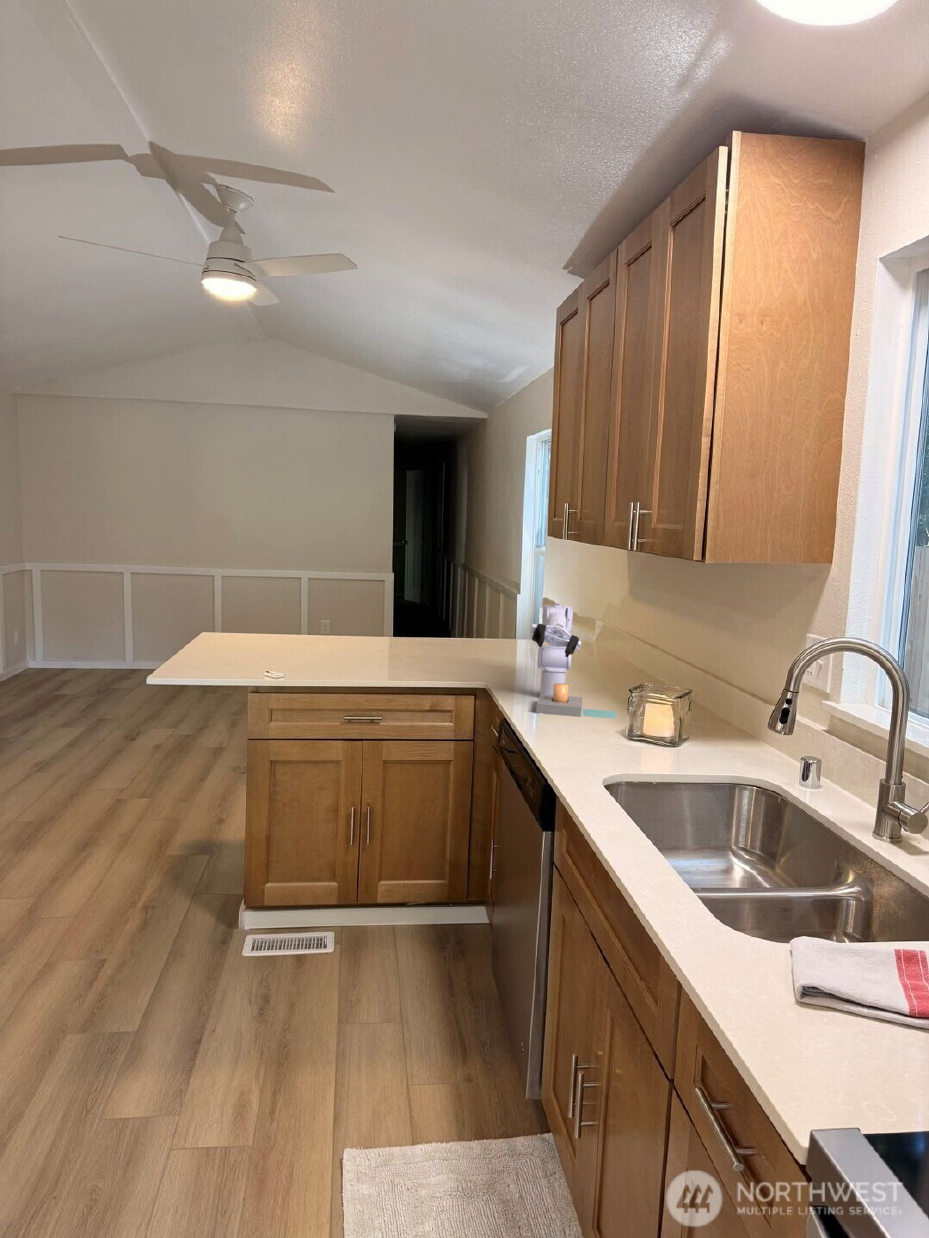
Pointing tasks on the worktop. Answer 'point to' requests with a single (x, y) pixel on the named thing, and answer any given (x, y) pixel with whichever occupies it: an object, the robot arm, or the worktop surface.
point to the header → (559, 706)
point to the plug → (560, 692)
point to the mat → (599, 713)
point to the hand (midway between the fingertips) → (554, 649)
